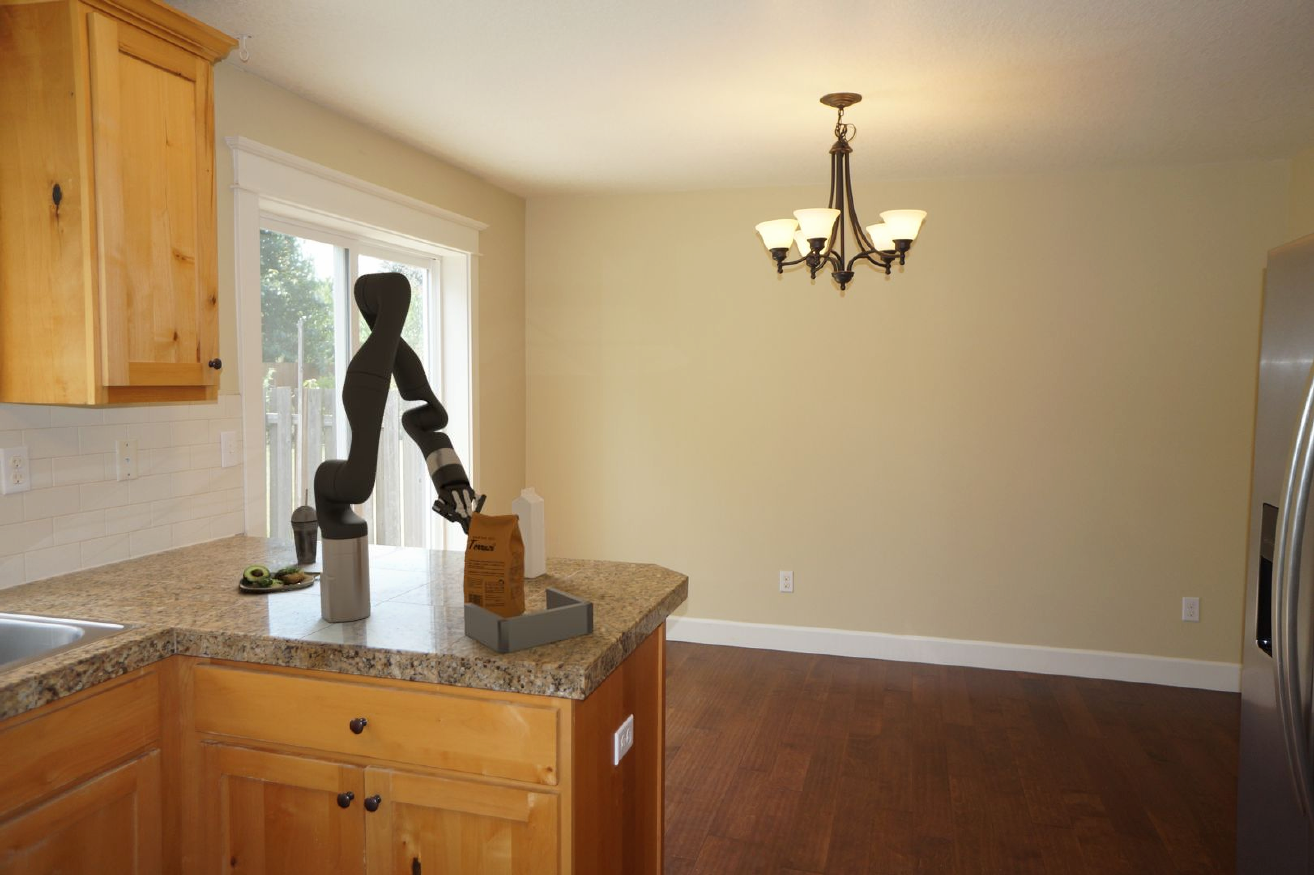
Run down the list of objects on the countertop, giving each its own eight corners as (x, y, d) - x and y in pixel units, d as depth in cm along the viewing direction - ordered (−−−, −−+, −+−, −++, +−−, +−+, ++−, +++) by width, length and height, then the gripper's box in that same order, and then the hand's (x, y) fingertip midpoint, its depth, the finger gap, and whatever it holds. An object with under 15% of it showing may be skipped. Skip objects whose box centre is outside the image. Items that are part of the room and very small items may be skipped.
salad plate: (322, 572, 222) (321, 555, 221) (329, 588, 206) (328, 569, 205) (239, 581, 213) (238, 563, 213) (239, 598, 197) (238, 578, 197)
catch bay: (501, 654, 156) (500, 621, 155) (464, 633, 168) (464, 603, 167) (593, 632, 168) (593, 602, 167) (552, 615, 180) (552, 587, 180)
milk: (512, 576, 215) (510, 489, 213) (526, 571, 220) (524, 486, 218) (533, 578, 212) (530, 490, 210) (546, 573, 218) (544, 487, 216)
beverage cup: (286, 564, 230) (283, 490, 228) (304, 559, 237) (301, 487, 235) (308, 566, 227) (305, 491, 226) (326, 560, 234) (324, 488, 233)
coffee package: (482, 607, 186) (480, 507, 185) (532, 613, 182) (530, 511, 180) (455, 620, 177) (452, 515, 175) (507, 626, 173) (505, 518, 171)
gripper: (423, 465, 188) (448, 528, 180) (478, 459, 196) (505, 520, 188) (415, 486, 193) (439, 548, 184) (469, 480, 201) (495, 539, 192)
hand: (472, 534), depth 186 cm, fingers closed
